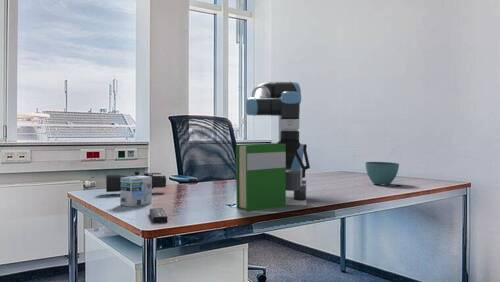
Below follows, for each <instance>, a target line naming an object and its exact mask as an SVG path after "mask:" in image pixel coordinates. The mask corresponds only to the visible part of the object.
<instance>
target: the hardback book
mask: <svg viewBox="0 0 500 282" xmlns="http://www.w3.org/2000/svg"><path fill="white" fill-rule="evenodd" d="M235 165H236V166H235V168H236V172H235V173H236V176H235V178H236V179H235V181H236V182H235V183H236V185H235V187H236V189H235V190H236V208H237V209H241V208H242V209H245V212H247V213H251V212H252V211H260V210H267V209H275V208H283V207H284V208H285V207H287V205H286V198H287V191H286V144H278V143H277V142H276V143H275V142H273V143H270V142H269V143H248V144H247V143H245V144H241V143H240V144H235Z"/></svg>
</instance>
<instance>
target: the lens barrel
mask: <svg viewBox="0 0 500 282" xmlns="http://www.w3.org/2000/svg"><path fill="white" fill-rule="evenodd" d="M293 198H294V200H299V201H303V200H306V201H307V180H304V179H302V187H300V190H296V191H293Z"/></svg>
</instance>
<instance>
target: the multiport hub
mask: <svg viewBox="0 0 500 282" xmlns="http://www.w3.org/2000/svg"><path fill="white" fill-rule="evenodd" d="M149 217H150V219H151V221H152V223H153V224H161V223H162V224H163V223H168V215H167V213H166V211H165V210H164V208H162V207H159V208H158V207H157V208H150V209H149Z"/></svg>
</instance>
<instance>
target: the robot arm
mask: <svg viewBox="0 0 500 282" xmlns="http://www.w3.org/2000/svg"><path fill="white" fill-rule="evenodd" d="M245 102H246V104H245V110H246V111H245V112H246V115H247V116H254V117H257V116H269V117H270V116H272V117H273V116H274V117H277V116H278V141H277V142H276V143H278V144H286V169H292V170H300V187H302V180H303V179H305V178H306V170H308V169H310V168H311V166H310V161H309V156H308V153H307V147H308V145H307V143H301V142H300V131H299V130H300V121H301V120H300V109H301V108H300V107H301V103H302V92H301V86H300V84H299V83H298V82H295V81H266V82H263V83H260V84H258V85H257V86H255V87H254V88H253V90H252V92H251V97H248V98H246V100H245ZM303 159H304V161H305V164H304V162H303Z"/></svg>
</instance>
